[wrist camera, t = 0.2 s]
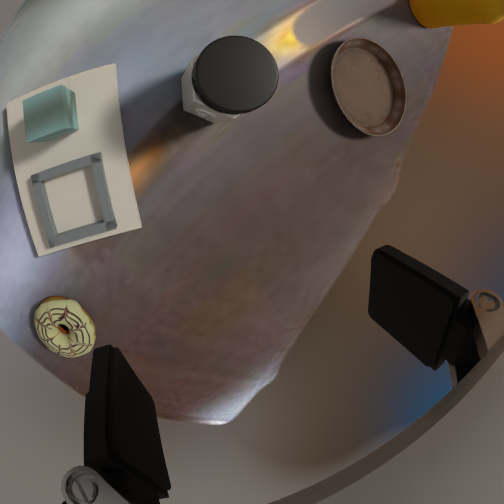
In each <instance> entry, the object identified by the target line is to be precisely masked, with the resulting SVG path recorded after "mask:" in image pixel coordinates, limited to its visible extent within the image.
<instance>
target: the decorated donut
mask: <svg viewBox="0 0 504 504" xmlns="http://www.w3.org/2000/svg"><path fill="white" fill-rule="evenodd" d="M34 322H35V327H36V331H37V334H38V336H39V338H40V339H41V341H42V342H43V343H44V344H45V345H46V346H47V347H48V348H49V349H50V350H51V351H53V352H55V353H57V354H58V355H61V356H65V357H78V356H81V355H83V354H86V353H88V352H89V351H90V350H91V349H92V347H93V345H94V342H95V339H96V337H95V326H94V324H93V322H92V319H91V317H90V316H89V315H88V313H87V312H86V311H85V310H84V309H83V308H82V307H81V306H80V305H79V303H78V302H76V301H75V300H72V299H68V298H65V297H62V296H51V297H48V298H46V299H45V300H44V301H43V302H42V303H41V304H40V306H39V308H38V309H37V310H35V318H34ZM60 324H63V325H65V326H67V327H68V329H69V330H64V329H63V328H62V327H61V326H60Z"/></svg>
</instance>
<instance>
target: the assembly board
mask: <svg viewBox="0 0 504 504" xmlns="http://www.w3.org/2000/svg"><path fill="white" fill-rule="evenodd" d="M59 85H63V86H65V87H66V88H68V89H70V90H71V91H73V92H75V98H76V108H77V117H78V125H79V130H76V131H73V132H70V133H67V134H64V135H62V136H59V137H56V138H53V139H51V140H48V141H45V142H33V143H27V141H26V133H25V125H24V114H23V100H25V99H27V98H29V97H32V96H34V95H36V94H39V93H41V92H43V91H46V90H48V89H51V88H54V87H56V86H59ZM6 105H7V119H8V130H9V138H10V146H11V152H12V159H13V164H14V170H15V175H16V180H17V184H18V189H19V193H20V197H21V201H22V205H23V209H24V212H25V216H26V219H27V223H28V226H29V229H30V232H31V236H32V239H33V242H34V245H35V247H36V250H37V253H38V256H39V257H40V256H43V255H46V254H49V253H52V252H56V251H59V250H62V249H66V248H69V247H72V246H76V245H79V244H83V243H86V242H90V241H93V240H97V239H100V238H104V237H108V236H111V235H115V234H119V233H123V232H126V231H130V230H134V229H138V228H141V226H142V224H141V220H140V215H139V211H138V207H137V202H136V198H135V193H134V188H133V183H132V178H131V173H130V168H129V162H128V157H127V151H126V145H125V138H124V132H123V125H122V118H121V110H120V101H119V92H118V81H117V69H116V64H115V63H114V64H110V65H106V66H102V67H99V68H95V69H92V70H88V71H85V72H82V73H79V74H76V75H73V76H70V77H67V78H64V79H61V80H59V81H56V82H53V83H51V84H48V85H46V86H43V87H41V88H39V89H36V90H34V91H32V92H29V93H27V94H25V95H23V96H21V97H19V98H16V99H14V100H12V101H10V102H8V103H6Z"/></svg>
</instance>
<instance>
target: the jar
mask: <svg viewBox="0 0 504 504" xmlns="http://www.w3.org/2000/svg"><path fill="white" fill-rule="evenodd" d="M277 84H278V68H277V64H276V62H275V59H274V58H273V56H272V54H271V53H270V52H269V51H268V50H267V48H265V47H264V46H263V45H262V44H260V43H259V42H257V41H255V40H253V39H251V38H248V37H243V36H227V37H222V38H220V39H217V40H215V41H213V42H212V43H210V44H209V45H208V46H206V47H205V48H204V49H203V51H202V52H201V53H200V55H198V56H196V57H195V58H193V59H192V60H191V61H190V63H189V65H188V67H187V69H186V70H185V72H184V74H183V76H182V78H181V85H182V100H183V110H184V111H186V112H189V113H191V114H194V115H196V116H198V117H201V118H203V119H205V120H207V121H210V122H212V123H217V122H221V121H226V120H230V119H234V118H236V117H238V116H239V115H241V114H242V113H247V112H251V111H253V110H255V109H257V108H259V107H261V106H262V105H264V104H265V103H266V102H267V101H268V100H269V99H270V98H271V97H272V95H273V94H274V92H275V90H276V87H277Z"/></svg>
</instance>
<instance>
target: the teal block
mask: <svg viewBox="0 0 504 504" xmlns="http://www.w3.org/2000/svg"><path fill="white" fill-rule="evenodd" d="M23 114H24V125H25V133H26V141H27V143H33V142H45V141H48V140H51V139H53V138H56V137H59V136H62V135H64V134H67V133H70V132H73V131H76V130H79V125H78V117H77V108H76V98H75V92H73V91H71V90H70V89H68V88H66V87H65V86H63V85H59V86H56V87H54V88H51V89H48V90H46V91H43V92H41V93H39V94H36V95H34V96H32V97H29V98H27V99H25V100H23Z"/></svg>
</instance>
